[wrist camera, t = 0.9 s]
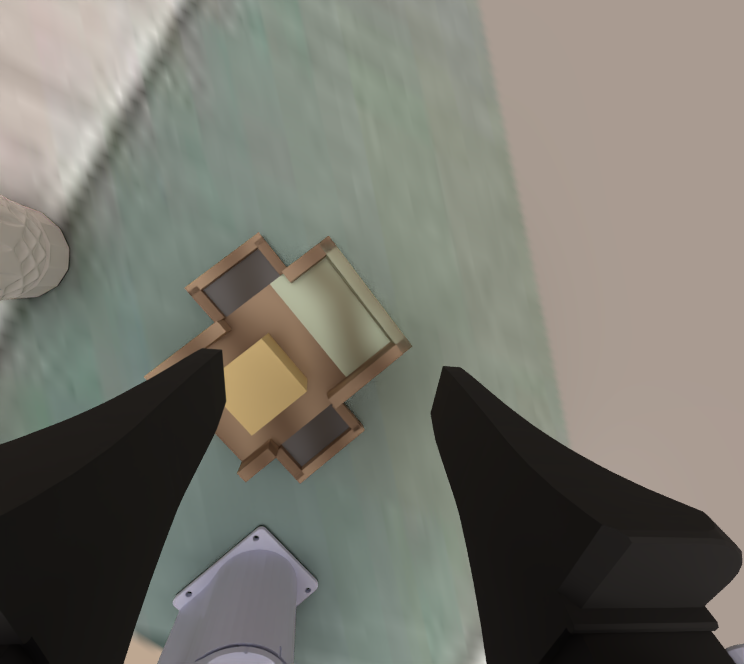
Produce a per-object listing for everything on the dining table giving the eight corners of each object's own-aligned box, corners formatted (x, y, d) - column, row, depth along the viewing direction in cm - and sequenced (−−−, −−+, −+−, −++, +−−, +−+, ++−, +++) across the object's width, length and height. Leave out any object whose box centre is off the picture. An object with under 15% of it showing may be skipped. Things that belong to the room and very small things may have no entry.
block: (259, 417, 29) (251, 435, 25) (218, 371, 28) (203, 383, 24) (307, 378, 29) (306, 391, 25) (268, 332, 28) (261, 338, 24)
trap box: (277, 495, 30) (274, 512, 28) (126, 335, 27) (107, 339, 24) (426, 372, 31) (436, 378, 29) (300, 205, 28) (299, 196, 26)
